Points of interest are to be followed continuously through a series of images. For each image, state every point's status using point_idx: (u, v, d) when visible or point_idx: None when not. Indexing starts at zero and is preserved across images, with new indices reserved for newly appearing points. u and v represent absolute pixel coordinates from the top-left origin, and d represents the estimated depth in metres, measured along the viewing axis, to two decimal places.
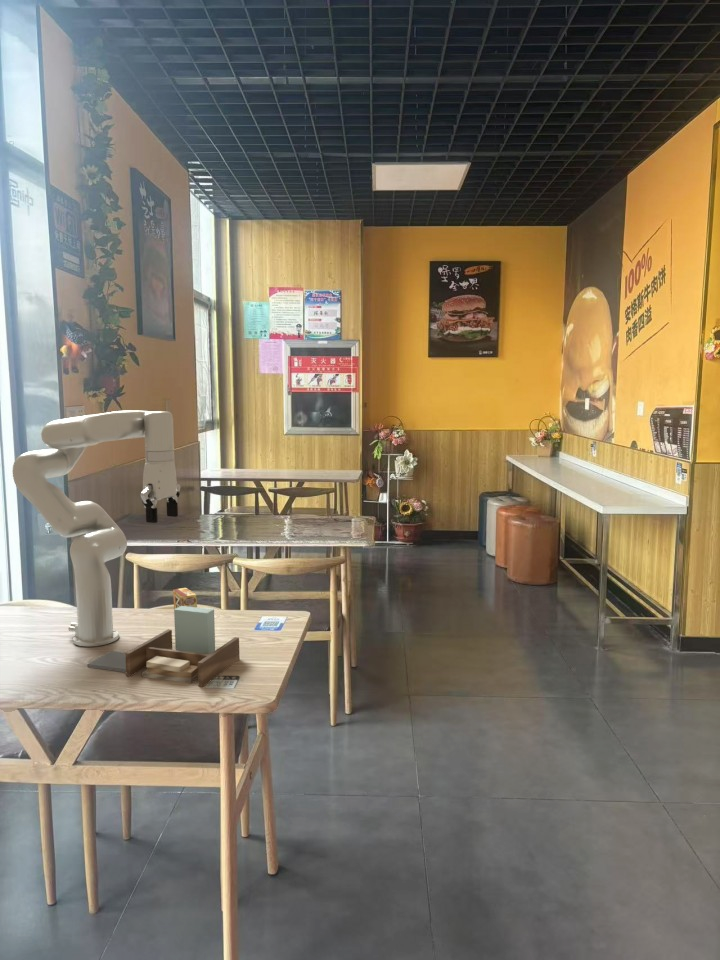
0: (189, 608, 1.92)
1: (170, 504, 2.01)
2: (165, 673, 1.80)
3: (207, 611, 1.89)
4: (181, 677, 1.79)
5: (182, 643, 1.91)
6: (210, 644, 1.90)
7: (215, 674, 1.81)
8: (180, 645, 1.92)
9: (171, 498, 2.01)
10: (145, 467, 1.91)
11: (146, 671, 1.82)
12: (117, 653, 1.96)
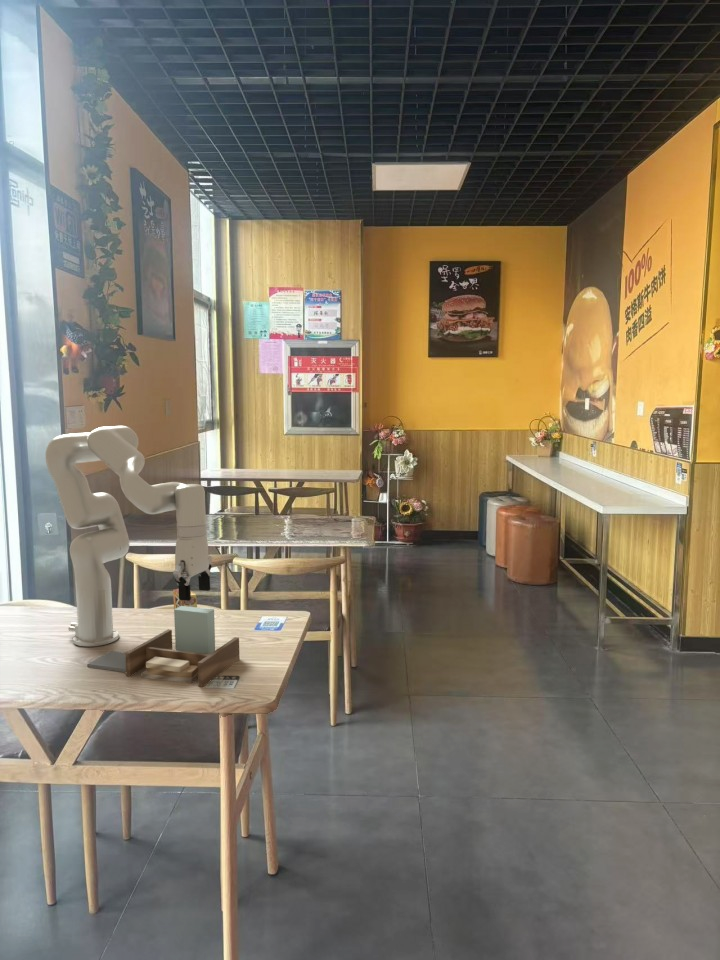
0: (189, 608, 1.92)
1: (202, 578, 1.94)
2: (165, 673, 1.80)
3: (207, 611, 1.89)
4: (181, 677, 1.78)
5: (182, 643, 1.91)
6: (210, 644, 1.90)
7: (215, 674, 1.81)
8: (180, 645, 1.92)
9: (203, 571, 1.95)
10: (177, 543, 1.85)
11: (145, 672, 1.82)
12: (117, 653, 1.96)
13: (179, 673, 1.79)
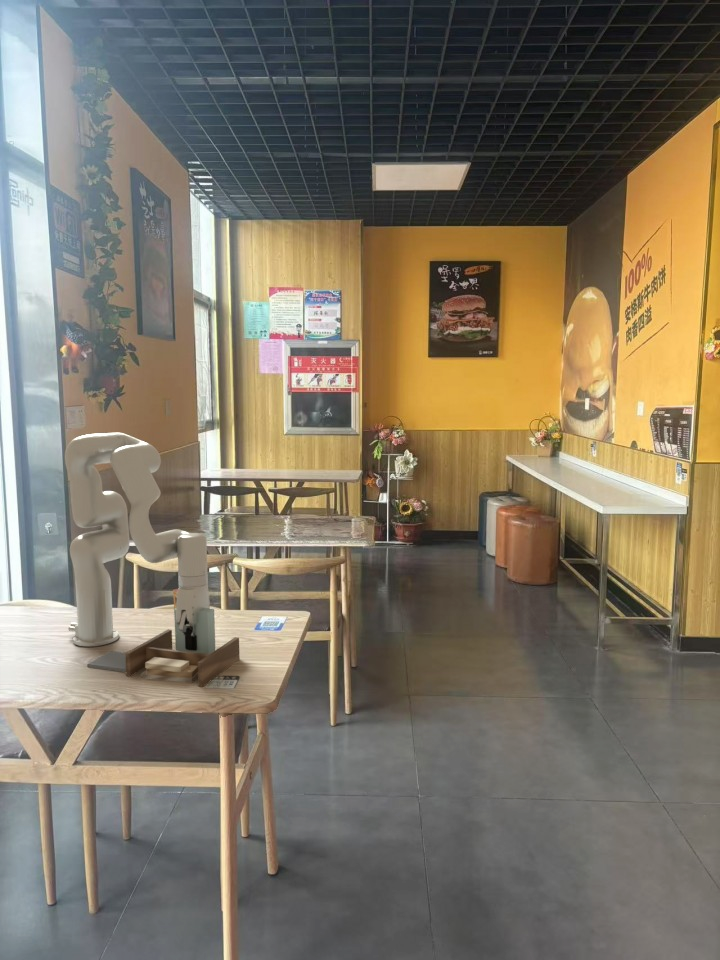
0: None
1: None
2: (165, 674, 1.79)
3: (207, 611, 1.89)
4: (181, 677, 1.78)
5: (182, 643, 1.91)
6: (210, 644, 1.90)
7: (215, 674, 1.81)
8: (180, 645, 1.92)
9: None
10: (178, 593, 1.87)
11: (145, 672, 1.82)
12: (117, 653, 1.96)
13: (179, 673, 1.79)
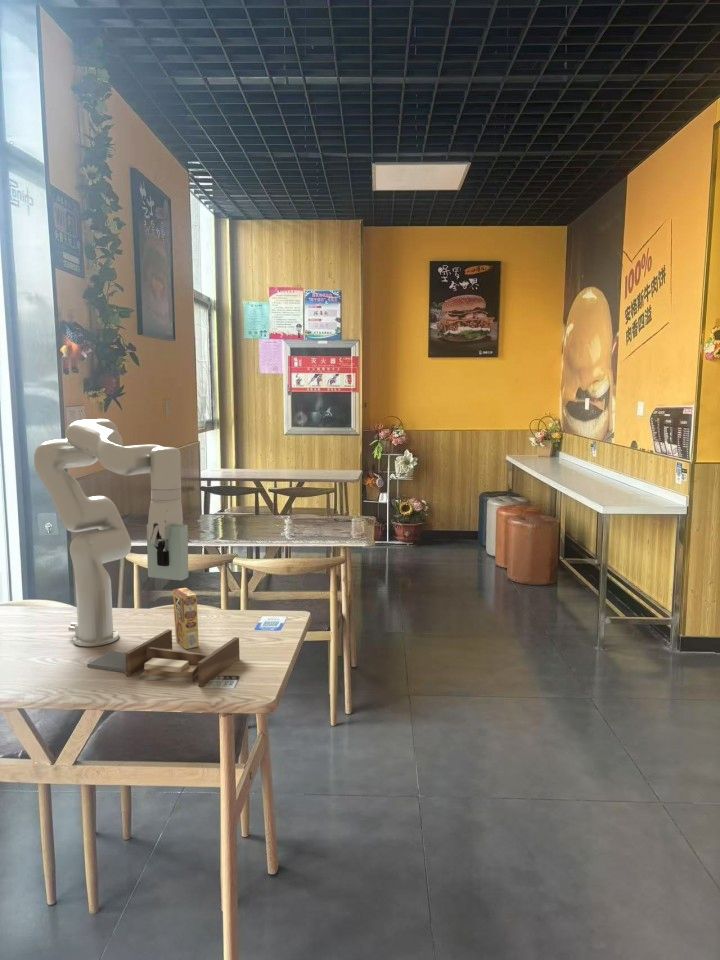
0: None
1: None
2: (165, 674, 1.79)
3: (180, 526, 1.86)
4: (182, 677, 1.78)
5: (154, 559, 1.88)
6: (183, 560, 1.87)
7: (215, 674, 1.81)
8: (153, 561, 1.88)
9: None
10: (151, 506, 1.83)
11: (144, 673, 1.81)
12: (117, 653, 1.96)
13: (179, 673, 1.79)
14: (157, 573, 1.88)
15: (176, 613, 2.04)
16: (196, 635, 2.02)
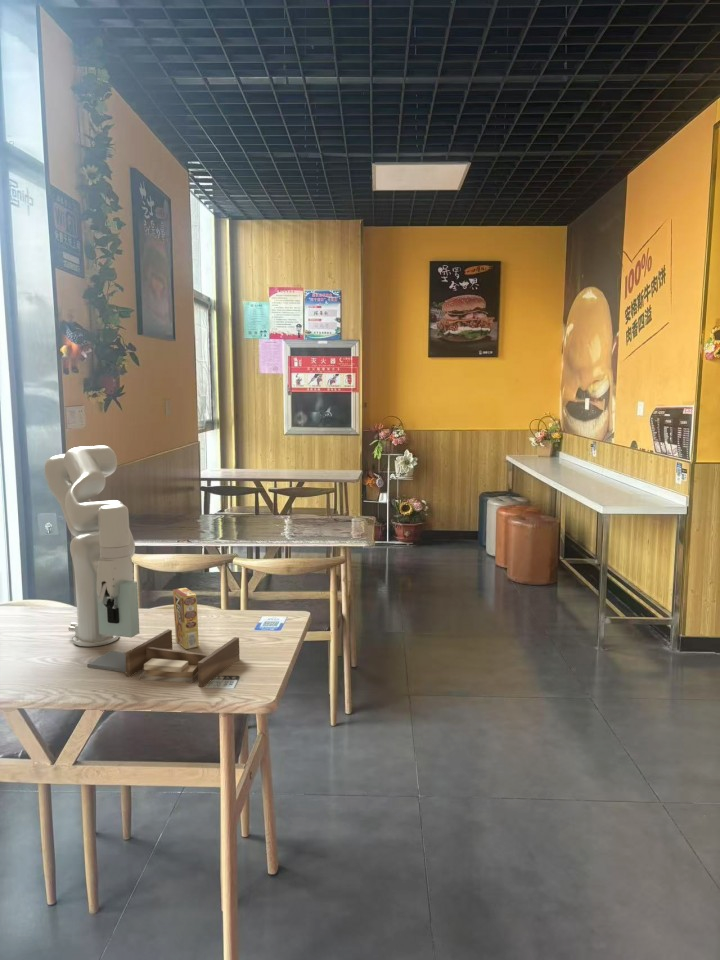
0: None
1: None
2: (164, 674, 1.79)
3: (129, 583, 1.86)
4: (182, 677, 1.78)
5: (105, 617, 1.88)
6: (132, 617, 1.87)
7: (215, 674, 1.81)
8: (103, 618, 1.89)
9: None
10: (99, 564, 1.84)
11: (143, 674, 1.81)
12: (117, 653, 1.96)
13: (179, 673, 1.79)
14: (107, 630, 1.89)
15: (176, 613, 2.04)
16: (196, 635, 2.02)
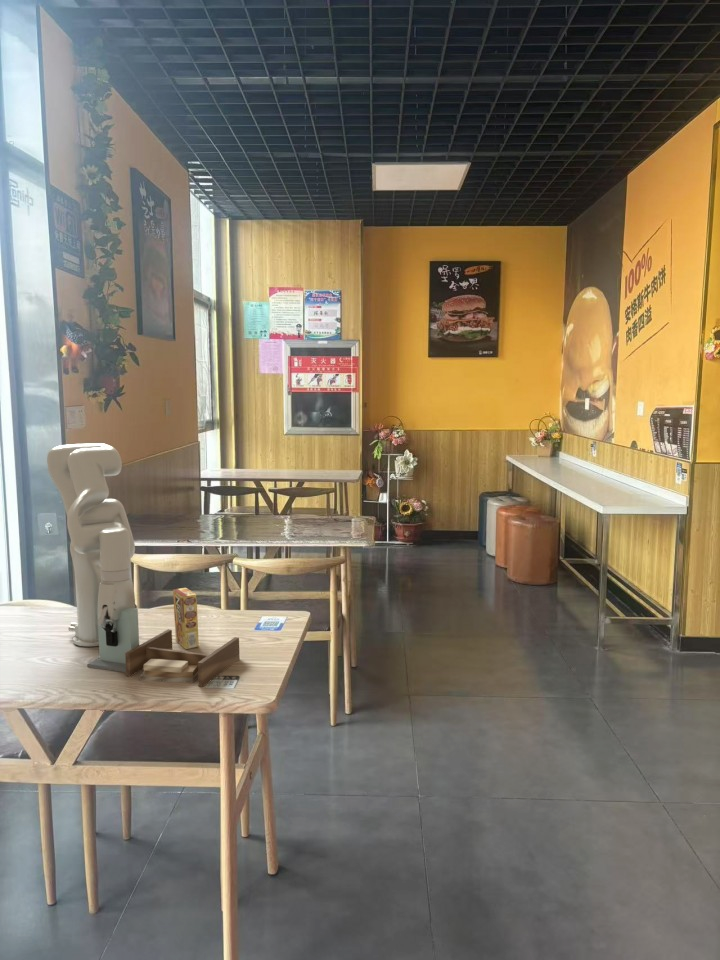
0: None
1: None
2: (164, 675, 1.79)
3: (129, 610, 1.87)
4: (182, 677, 1.78)
5: (105, 643, 1.90)
6: (133, 644, 1.88)
7: (215, 674, 1.81)
8: (104, 645, 1.90)
9: None
10: (100, 587, 1.85)
11: (143, 674, 1.80)
12: None
13: (179, 673, 1.79)
14: (108, 656, 1.90)
15: (176, 613, 2.04)
16: (196, 635, 2.02)
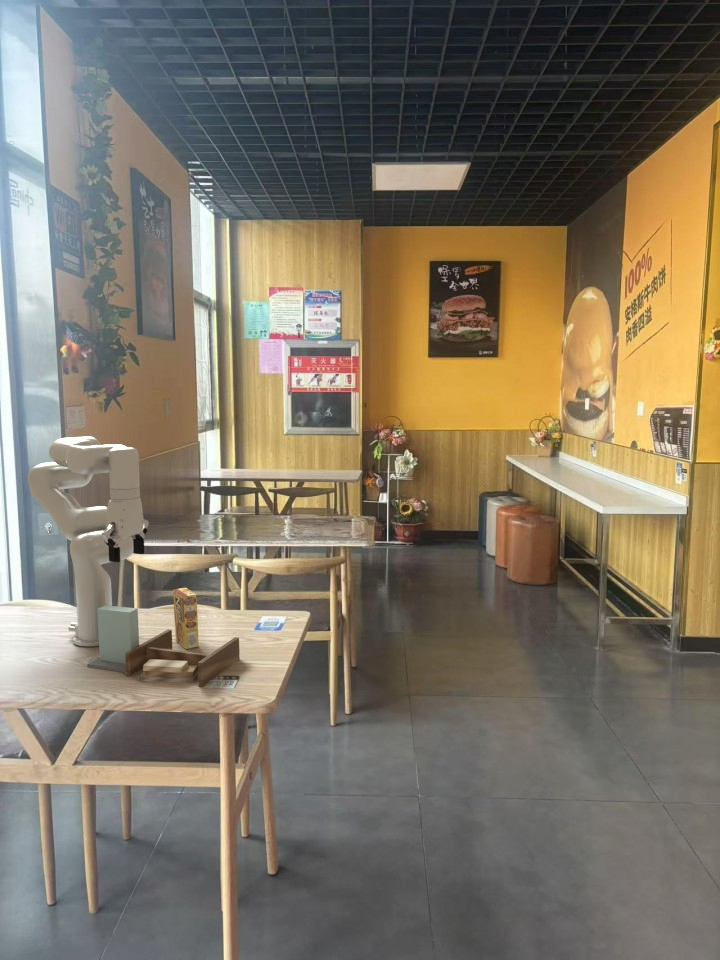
0: (113, 607, 1.90)
1: (137, 541, 1.96)
2: (164, 675, 1.79)
3: (129, 610, 1.87)
4: (182, 677, 1.78)
5: (105, 643, 1.90)
6: (133, 644, 1.88)
7: (215, 674, 1.81)
8: (104, 645, 1.90)
9: (138, 535, 1.96)
10: (108, 505, 1.86)
11: (142, 675, 1.80)
12: None
13: (180, 674, 1.78)
14: (108, 656, 1.90)
15: (176, 613, 2.04)
16: (196, 635, 2.02)
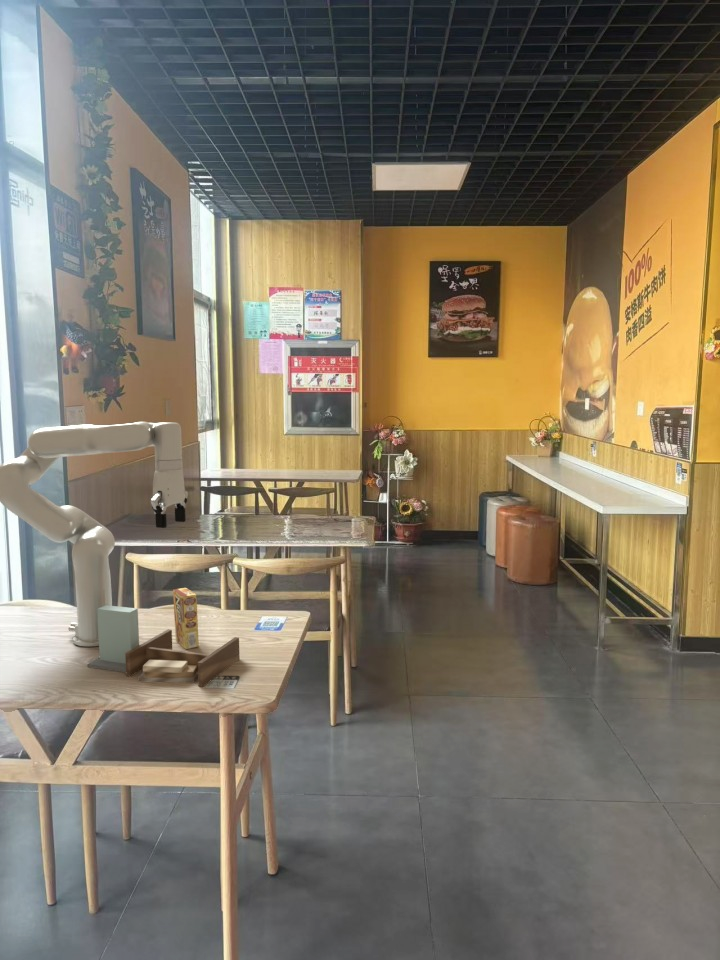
0: (113, 607, 1.90)
1: (178, 510, 2.12)
2: (164, 675, 1.78)
3: (129, 610, 1.87)
4: (182, 677, 1.78)
5: (105, 643, 1.90)
6: (133, 644, 1.88)
7: (215, 674, 1.81)
8: (104, 645, 1.90)
9: (179, 504, 2.12)
10: (155, 475, 2.02)
11: (142, 675, 1.80)
12: None
13: (180, 674, 1.78)
14: (108, 656, 1.90)
15: (176, 613, 2.04)
16: (196, 635, 2.02)
